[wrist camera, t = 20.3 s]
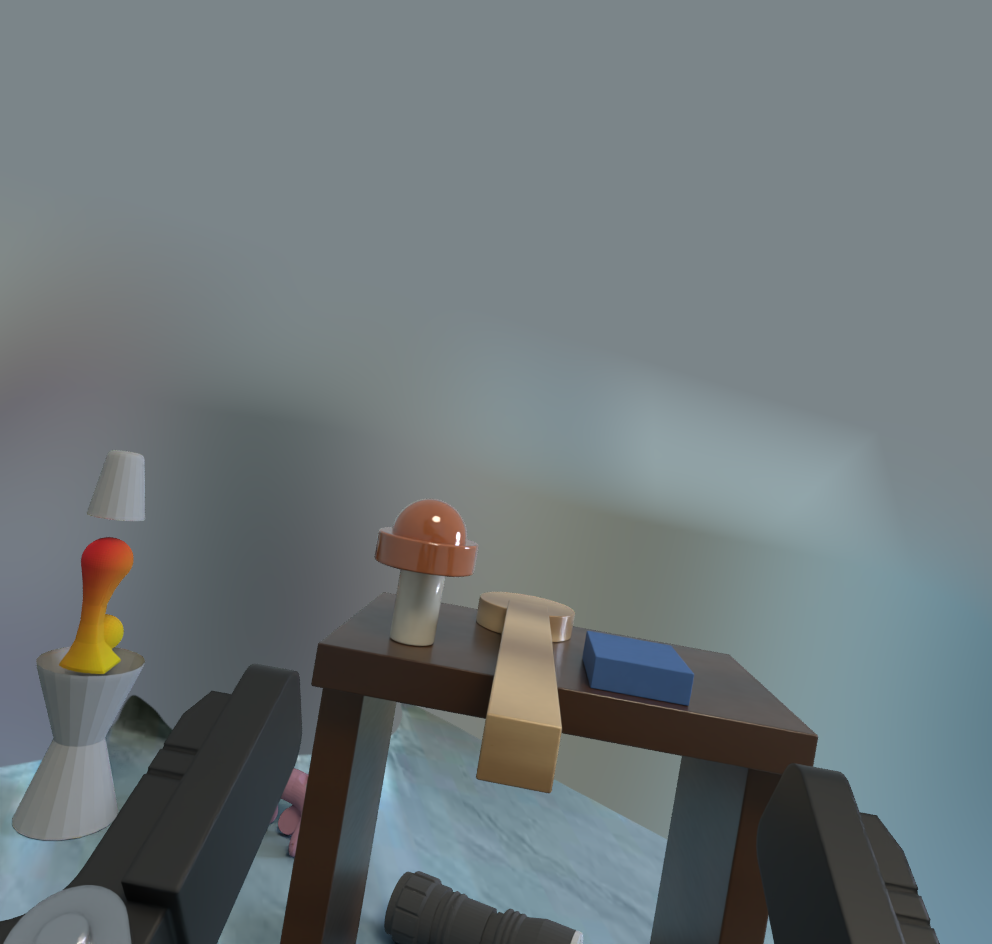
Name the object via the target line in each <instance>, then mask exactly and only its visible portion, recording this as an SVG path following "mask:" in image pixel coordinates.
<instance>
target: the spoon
mask: <svg viewBox="0 0 992 944" xmlns="http://www.w3.org/2000/svg"><path fill="white" fill-rule="evenodd" d="M574 616H575V612H574V610H572V609H571V608H569V607H567V606H565V605H563V604H560V603H557V602H554V601H551V600H547V599H543V598H539V597H535V596H529V595H524V594H517V593H508V592H487V593H483V594H481V595H480V599H479V605H478V611H477V617H476V621H477V623H478V624H480V625H481V626H483V627H484V628H487V629H489V630H491V631H494V632H497V633H500V634H502V637H501V643H500V648H499V653H498V658H497V663H496V668H495V674H494V679H493V684H492V689H491V694H490V699H489V705H488V710H487V715H486V721H485V727H484V733H483V739H482V745H481V750H480V756H479V762H478V768H477V774H476V778H477V779H478V780H483V781H488V782H493V783H498V784H503V785H508V786H514V787H519V788H524V789H529V790H534V791H539V792H545V793H551V791H552V785H553V780H554V774H555V768H556V762H557V756H558V750H559V744H560V737H561V733H562V724H561V715H560V707H559V698H558V689H557V680H556V672H555V663H554V654H553V646H552V642H562V641H566V640H569V639H570V638H571V634H572V628H573V622H574Z"/></svg>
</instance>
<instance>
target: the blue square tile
mask: <svg viewBox="0 0 992 944" xmlns="http://www.w3.org/2000/svg"><path fill="white" fill-rule="evenodd" d="M582 658H583V662H584V665H585V669H586V673H587V677H588V680H589V684H590V688H593V689H598V690H604V691H609V692H614V693H620V694H625V695H631V696H636V697H641V698H647V699H652V700H658V701H663V702H668V703H674V704H679V705H685V706H689V702H690V697H691V691H692V685H693V679H694V673H693V672H692V671H691V670H690V668H689V667H688V666H687V665H686V663H685V662H684V661H683V660H682V659H681V657H680V656H679V655H678V654H677V652H676V651H675V650H674V649H673V647H672V646H670V645H665V644H659V643H654V642H648V641H643V640H637V639H632V638H626V637H621V636H615V635H610V634H604V633H598V632H593V631H587V632H586V638H585V644H584V650H583V656H582Z"/></svg>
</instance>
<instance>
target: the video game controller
mask: <svg viewBox="0 0 992 944" xmlns="http://www.w3.org/2000/svg"><path fill="white" fill-rule="evenodd" d="M307 780H308V774H306V773H304V772H302V771H300V770H298V769H293V771H292V774H291V776H290V778H289V780H288V783H287V785H286V787H285V790H284V792H283V794H282V796H281V799H283V800H285V801H287V802H289V803H291V804H293V805H292V806H291V807H289V808H287V809H286V810H285V811H284V812H283V813H282V814H281V816H280V818H279V821H278V827H279V829H280V831H281V832H282V833H284V834H286V835H292V836H291V840H290V843H289V854H290V855H291V856H293V857H295V852H296V846H297V840H298V834H299V828H300V822H301V816H302V810H303V804H304V798H305V792H306V786H307ZM277 814H278V806H277V808H276V810H275V812H274V815H273V817H272V819H271V821H270V823H272V822H273V821H274V820H275V818H276V817H277Z"/></svg>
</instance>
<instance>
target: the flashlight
mask: <svg viewBox="0 0 992 944" xmlns="http://www.w3.org/2000/svg"><path fill="white" fill-rule="evenodd" d="M385 931H386V933H387V934H390V935H392V938H393V941H395V942H397V943H400V944H583V933H582V932H579V931H576V930H574V929H571V928H569V927H566V926H563V925H561V924H558V923H556V922H553V921H551V920H548V919H541V918H530V917H527V916H526V915H525V914H520V912H518V911H516V912H514V910H513V909H509V910H507V911H506V912H505V913H504V914H503V913H501V912H499V913H497V910H496V909H495V908H493V907H490V906H488V905H485V904H483V903H480V902H478V901H475V900H473V899H470V898H468V897H467V895H465V894H460V892H458V891H457V892H453V890H452V889H451V888H449V887H447V886H444V885H442V884H441V881H440V879H438V878H435V877H433V876H430V875H428V874H425V873H423V872H420V871H418V872H415V873H411V872H406V873H405V874H404V875H403V876H402V877H401V878H400V879H399V881H398V883H397V885H396V886H395V888H394V891H393V893H392V895H391V898H390V901H389V904H388V907H387V911H386V916H385Z"/></svg>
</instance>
